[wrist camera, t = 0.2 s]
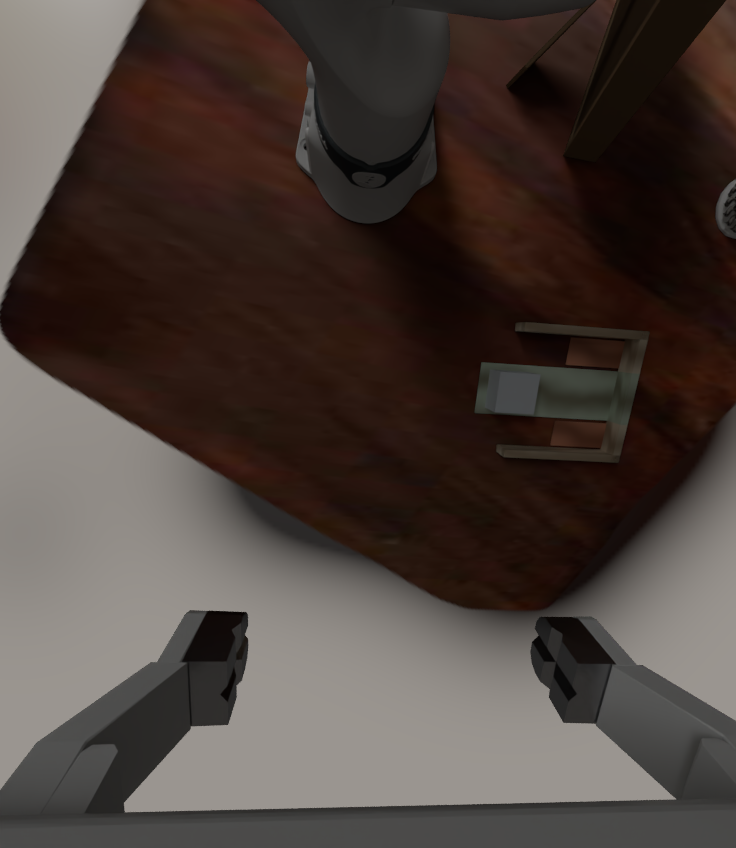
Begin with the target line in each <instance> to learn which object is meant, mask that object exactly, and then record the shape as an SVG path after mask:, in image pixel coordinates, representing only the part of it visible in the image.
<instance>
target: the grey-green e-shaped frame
mask: <svg viewBox="0 0 736 848" xmlns="http://www.w3.org/2000/svg"><path fill="white" fill-rule="evenodd" d="M515 331H520V332H533V333H546V334H560V335H573V336H587V337H600V338H613V339H625V341H614V340H600V339H587V338H573V337H571V339H570V344H569V349H568V354H567V360H566V365H576V366H591V367H605V368H618V372H617V371H602V370H587V369H573V368H558V367H543V366H529V365H514V364H499V363H484V362H481V369H480V376H479V384H478V391H477V398H476V405H475V412H474V413H483V414H500V415H518V416H535V417H553V418H570V419H587V420H605V421H607V422H606V423H589V422H572V421H555V422H554V428H553V433H552V438H551V443H550V445H551V446H571V447H590V448H601V449H600V450H598V449H579V448H559V447H540V446H520V445H501V444H497V448H496V452H498V453H499V454H500V455H502V456H503V457H511V458H532V459H552V460H573V461H593V462H614V463H619V459H620V454H621V450H622V446H623V442H624V438H625V434H626V429H627V425H628V421H629V417H630V413H631V408H632V404H633V400H634V396H635V392H636V387H637V383H638V379H639V375H640V371H641V366H642V362H643V358H644V354H645V350H646V345H647V341H648V337H649V333H650V332H647V331H634V330H621V329H608V328H595V327H582V326H569V325H556V324H543V323H530V322H521V323H516V326H515ZM490 370H505V371H520V372H530V373H536V374H541V376H540V381H539V387H538V393H537V398H536V404H535V410H534V415H531V414H513V413H496V412H493V411H491V410H489V409H487V408H485V402H486V395H487V388H488V381H489V374H490Z"/></svg>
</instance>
